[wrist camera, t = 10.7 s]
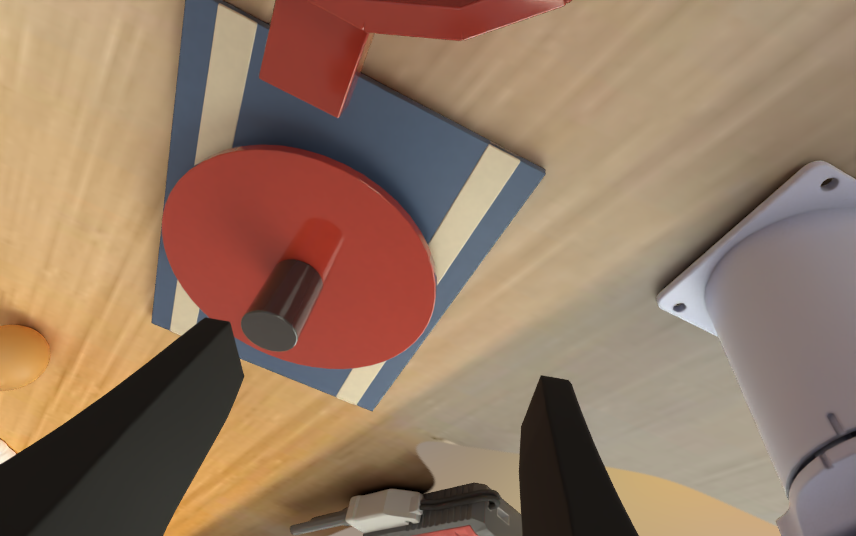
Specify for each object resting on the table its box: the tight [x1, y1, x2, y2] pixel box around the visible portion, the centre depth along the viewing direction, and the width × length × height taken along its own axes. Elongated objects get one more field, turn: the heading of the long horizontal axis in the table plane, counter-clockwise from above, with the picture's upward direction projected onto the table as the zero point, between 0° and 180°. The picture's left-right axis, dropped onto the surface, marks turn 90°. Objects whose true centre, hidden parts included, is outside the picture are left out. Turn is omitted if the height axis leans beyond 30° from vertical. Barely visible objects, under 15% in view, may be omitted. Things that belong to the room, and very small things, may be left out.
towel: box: [151, 0, 545, 411], centre depth 23 cm, size 14×19×1 cm
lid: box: [162, 144, 437, 369], centre depth 21 cm, size 13×13×4 cm
